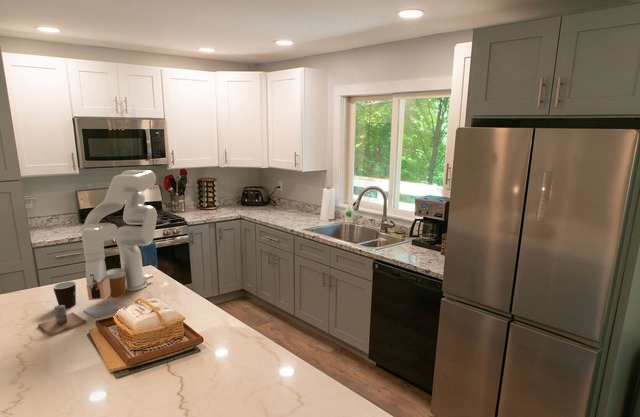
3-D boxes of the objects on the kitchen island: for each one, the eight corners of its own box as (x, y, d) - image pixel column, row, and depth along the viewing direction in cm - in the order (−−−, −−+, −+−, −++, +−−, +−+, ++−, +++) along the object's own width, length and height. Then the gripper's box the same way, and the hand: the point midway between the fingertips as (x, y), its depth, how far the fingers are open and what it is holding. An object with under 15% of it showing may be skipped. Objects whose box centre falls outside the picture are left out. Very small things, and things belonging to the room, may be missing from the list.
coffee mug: (70, 309, 175) (67, 288, 173) (51, 309, 175) (48, 289, 173) (86, 298, 186) (83, 278, 184) (68, 298, 187) (65, 278, 184)
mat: (109, 302, 182) (109, 301, 182) (121, 308, 175) (120, 307, 175) (83, 311, 173) (83, 310, 173) (95, 318, 167) (95, 317, 166)
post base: (73, 314, 171) (70, 297, 169) (86, 323, 163) (83, 305, 161) (38, 326, 160) (35, 308, 159) (50, 336, 153) (47, 317, 151)
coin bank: (95, 294, 175) (93, 278, 174) (110, 292, 176) (109, 277, 175) (88, 300, 169) (86, 284, 167) (105, 299, 170) (102, 283, 168)
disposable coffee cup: (107, 293, 192) (103, 269, 190) (128, 289, 196) (125, 266, 194) (105, 300, 184) (102, 276, 181) (128, 296, 188) (125, 273, 185)
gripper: (94, 250, 177) (98, 287, 180) (76, 262, 160) (81, 303, 163) (111, 249, 178) (116, 286, 181) (95, 261, 161) (101, 302, 164)
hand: (99, 294), depth 172 cm, fingers closed on coin bank, 6 cm apart
